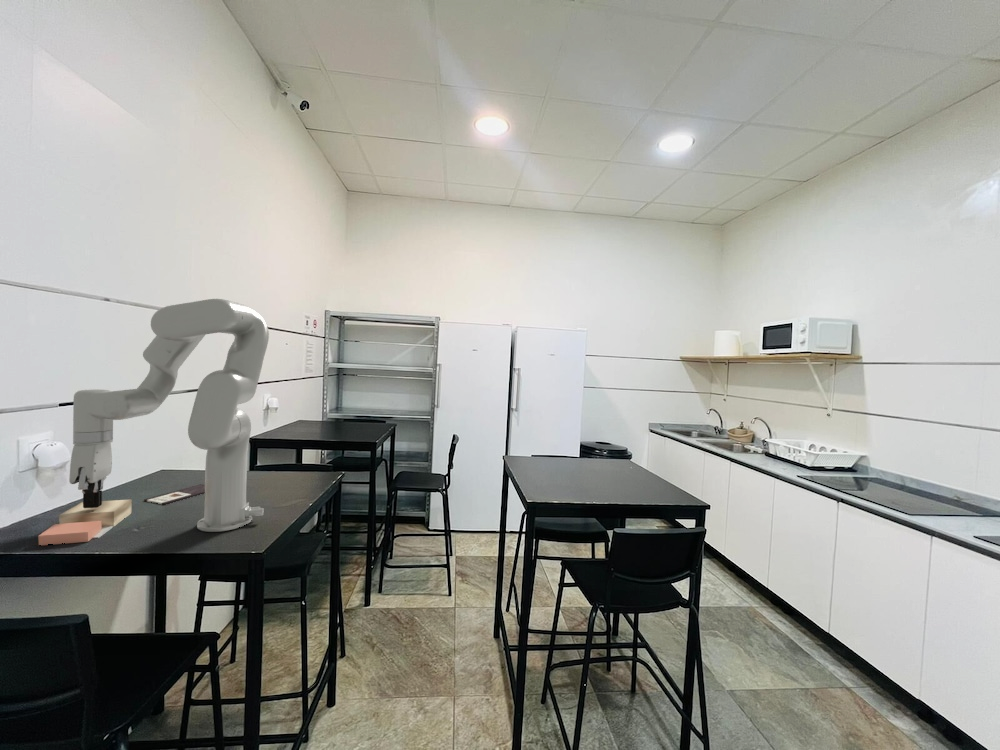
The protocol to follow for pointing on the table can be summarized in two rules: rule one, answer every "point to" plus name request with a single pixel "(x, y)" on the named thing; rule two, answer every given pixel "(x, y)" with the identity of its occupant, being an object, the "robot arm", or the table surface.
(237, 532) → the table surface
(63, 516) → the wooden block
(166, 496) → the chocolate bar
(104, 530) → the mat
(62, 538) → the pink rubber eraser
